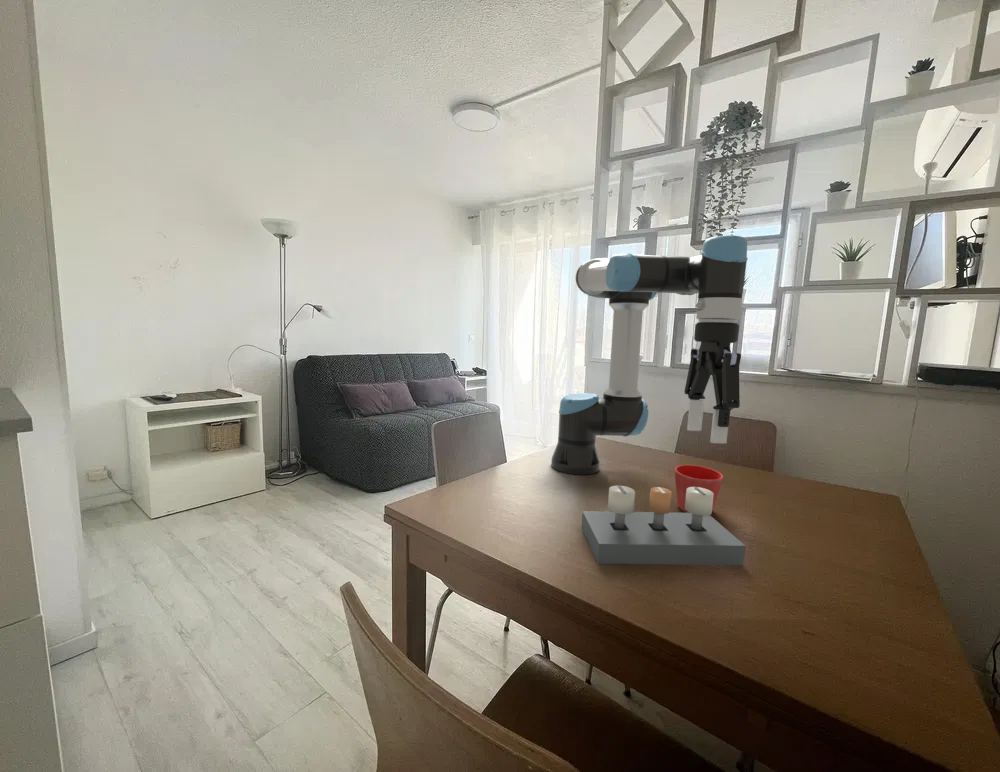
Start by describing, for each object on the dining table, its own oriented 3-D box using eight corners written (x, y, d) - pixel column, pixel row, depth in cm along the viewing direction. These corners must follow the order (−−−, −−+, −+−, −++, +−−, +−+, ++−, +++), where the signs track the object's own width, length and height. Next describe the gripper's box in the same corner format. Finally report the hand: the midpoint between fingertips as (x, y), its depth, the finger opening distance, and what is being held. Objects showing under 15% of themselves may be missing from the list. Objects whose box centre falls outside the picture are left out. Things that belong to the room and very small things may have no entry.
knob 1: (603, 520, 88) (606, 484, 87) (627, 521, 88) (630, 484, 87) (610, 532, 83) (613, 494, 82) (635, 532, 84) (638, 494, 82)
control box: (581, 528, 93) (582, 511, 93) (705, 529, 94) (707, 513, 94) (597, 563, 79) (599, 543, 79) (743, 565, 80) (745, 545, 80)
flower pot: (725, 521, 99) (729, 481, 98) (676, 515, 101) (679, 476, 100) (712, 502, 109) (716, 466, 108) (667, 498, 111) (670, 462, 110)
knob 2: (678, 521, 89) (682, 485, 88) (702, 522, 89) (705, 486, 88) (690, 533, 84) (693, 495, 83) (714, 533, 84) (718, 495, 83)
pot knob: (644, 522, 88) (647, 486, 87) (663, 522, 88) (666, 486, 87) (652, 531, 84) (655, 493, 83) (671, 532, 84) (675, 494, 83)
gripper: (673, 321, 91) (664, 423, 94) (729, 320, 70) (715, 452, 73) (707, 322, 91) (697, 424, 94) (773, 321, 70) (758, 452, 73)
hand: (705, 436), depth 84 cm, fingers open, 9 cm apart
